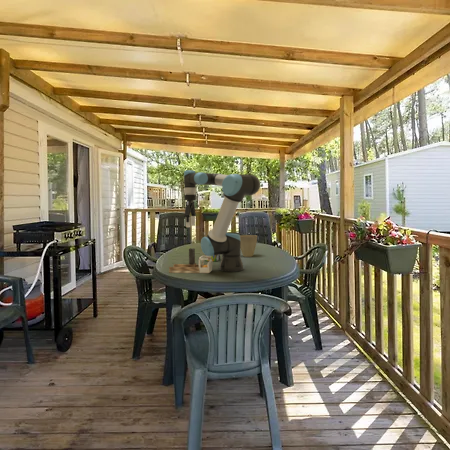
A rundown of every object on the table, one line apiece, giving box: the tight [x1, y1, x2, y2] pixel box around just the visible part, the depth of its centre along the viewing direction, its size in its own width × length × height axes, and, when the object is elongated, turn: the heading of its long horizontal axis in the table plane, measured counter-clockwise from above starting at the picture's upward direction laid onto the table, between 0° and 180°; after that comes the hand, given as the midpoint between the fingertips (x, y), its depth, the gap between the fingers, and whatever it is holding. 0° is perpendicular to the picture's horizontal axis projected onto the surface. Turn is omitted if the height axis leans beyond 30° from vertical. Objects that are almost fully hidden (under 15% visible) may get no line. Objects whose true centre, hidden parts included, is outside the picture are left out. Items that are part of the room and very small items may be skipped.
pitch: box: [168, 263, 203, 274], centre depth 222 cm, size 19×12×3 cm, turn 82°
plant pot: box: [239, 234, 258, 258], centre depth 276 cm, size 15×15×16 cm
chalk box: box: [204, 254, 221, 263], centre depth 259 cm, size 9×9×15 cm
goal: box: [198, 255, 213, 274], centre depth 220 cm, size 6×10×9 cm, turn 172°
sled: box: [187, 248, 197, 267], centre depth 221 cm, size 4×6×12 cm, turn 172°
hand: (190, 226), depth 235 cm, fingers open, 13 cm apart
